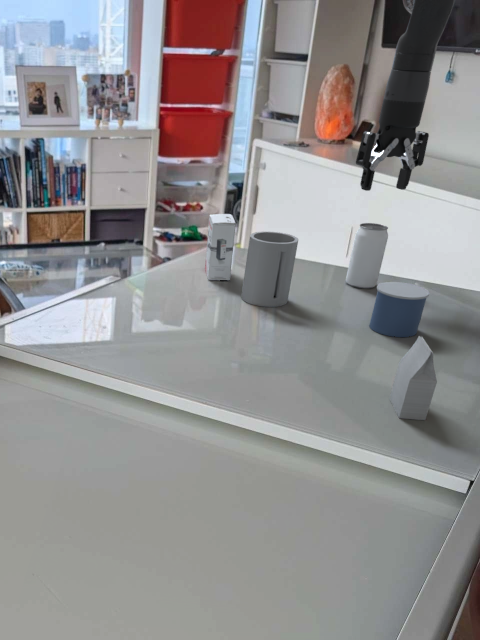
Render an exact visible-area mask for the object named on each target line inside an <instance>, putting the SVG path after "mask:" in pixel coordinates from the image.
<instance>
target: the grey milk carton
mask: <svg viewBox="0 0 480 640" xmlns="http://www.w3.org/2000/svg"><path fill="white" fill-rule="evenodd" d="M437 384H438V381H437V375H436V371H435V364H434V352H433V351H432V349H431V347H430V346H429V345H428V343H427V342H426V340H425V339H424V337H423V336H421V335H418V337H417V338H416V340H415V342H414V343H413V344H412V346H411V347H410V348H409V350H408V351H407V352H406V353H405V354H404V355H403V356H402V358H401V359H400V360H399V361H398V365H397V369H396V372H395V376H394V380H393V383H392V387H391V390H390V394H389V398H388V399H389V401H390V403H391V405H392V407H393V410H395V413H396V415H397V417H398V419H405V420H417V421H426V419H427V417H428V412H429V410H430V406H431V403H432V400H433V396H434V393H435V390H436V388H437V387H436V386H437Z"/></svg>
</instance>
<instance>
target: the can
mask: <svg viewBox="0 0 480 640" xmlns="http://www.w3.org/2000/svg"><path fill="white" fill-rule="evenodd" d="M388 229H389V227H388V226H387V225H384V224H380V223H376V222H375V223H374V222H373V223H372V222H364V223H360V224H359V228H358V229H357V230H356V232H355V236H354V240H353V244H352V249H351V254H350V257H349V258H350V259H349V263H348V267H347V272H346V277H345V283H346V284H347V285H348V286H350V287H353V288H357V289H365V290H367V289H373V288H375V286H376V287H377V285H378V281H379V277H380V273H381V268H382V264H383V260H384V256H385V251H386V248H387V244H388V240H389V233H388Z"/></svg>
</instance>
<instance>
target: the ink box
mask: <svg viewBox="0 0 480 640" xmlns="http://www.w3.org/2000/svg"><path fill="white" fill-rule="evenodd" d="M208 216H209V217H208V226H207V228H208V229H207V240H206V252H205V264H204V270H205V274H206V277H207V280H208V281H220V280H230V281H231V274H232V264H233V254H234V245H235V237H236V236H235V235H236V226H237V225H236V220H235V218H234V216H233V214H230V213H215V214H214V213H213V214H209V215H208Z"/></svg>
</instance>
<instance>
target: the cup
mask: <svg viewBox="0 0 480 640" xmlns="http://www.w3.org/2000/svg"><path fill="white" fill-rule="evenodd" d="M298 244H299V238H298V237H297V236H295V235H292V234H288V233H283V232H278V231H255V232H252V233H251V234H250V235H249V240H248V245H247V246H248V247H247V254H246V261H245V268H244V274H243V275H244V276H243V282H242V289H241V295H240V298H241V299H242V301H244V302H245V303H247V304H250V305H253V306H259V307H267V308H269V307H270V308H271V307H272V308H275V307H281V306H284V305H286V304H287V303H288V300H289V294H290V288H291V283H292V278H293V273H294V267H295V261H296V255H297V251H298V250H297V249H298ZM274 296H275V297H274Z"/></svg>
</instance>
